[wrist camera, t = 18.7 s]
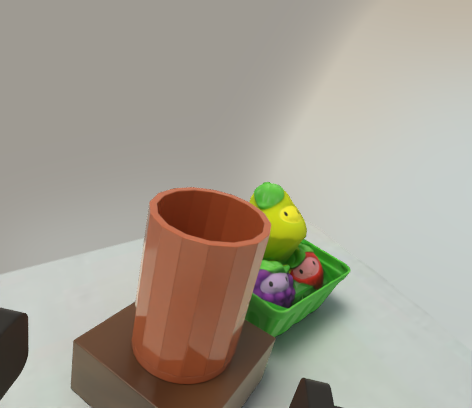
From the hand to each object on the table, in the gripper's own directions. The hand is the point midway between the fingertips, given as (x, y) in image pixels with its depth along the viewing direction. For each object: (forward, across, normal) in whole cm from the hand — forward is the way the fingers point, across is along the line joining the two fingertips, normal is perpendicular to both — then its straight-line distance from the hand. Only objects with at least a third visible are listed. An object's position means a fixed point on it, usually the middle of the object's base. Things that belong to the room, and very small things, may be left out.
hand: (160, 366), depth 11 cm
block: (+10, 0, +12) cm, 16 cm away
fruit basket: (+20, -6, +13) cm, 25 cm away
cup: (+10, 0, +8) cm, 13 cm away
